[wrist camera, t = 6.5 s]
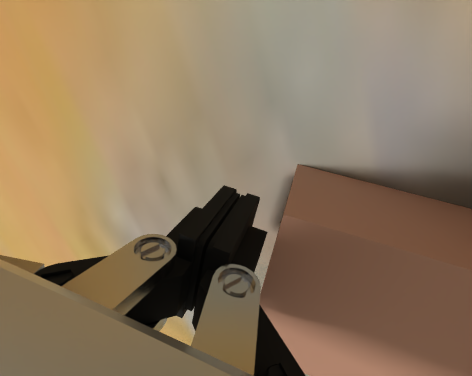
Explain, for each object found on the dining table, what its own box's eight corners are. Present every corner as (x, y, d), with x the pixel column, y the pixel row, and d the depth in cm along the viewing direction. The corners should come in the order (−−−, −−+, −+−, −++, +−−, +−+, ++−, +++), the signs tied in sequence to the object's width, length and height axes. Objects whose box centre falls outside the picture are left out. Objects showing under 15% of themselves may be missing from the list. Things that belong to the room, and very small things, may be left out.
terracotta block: (297, 164, 12) (283, 214, 7) (500, 215, 10) (636, 319, 6) (268, 265, 14) (244, 348, 10) (426, 319, 13) (483, 446, 8)
